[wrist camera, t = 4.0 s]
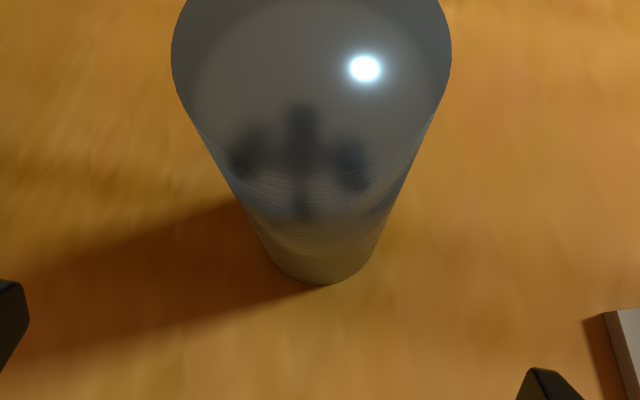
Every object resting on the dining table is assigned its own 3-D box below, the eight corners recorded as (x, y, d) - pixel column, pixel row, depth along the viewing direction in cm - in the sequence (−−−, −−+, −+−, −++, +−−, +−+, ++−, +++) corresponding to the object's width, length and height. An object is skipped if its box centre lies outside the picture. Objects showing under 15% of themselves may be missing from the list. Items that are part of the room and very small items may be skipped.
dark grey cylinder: (267, 292, 20) (175, 192, 8) (257, 180, 22) (167, -51, 9) (386, 277, 20) (479, 156, 8) (368, 167, 22) (423, -79, 9)
